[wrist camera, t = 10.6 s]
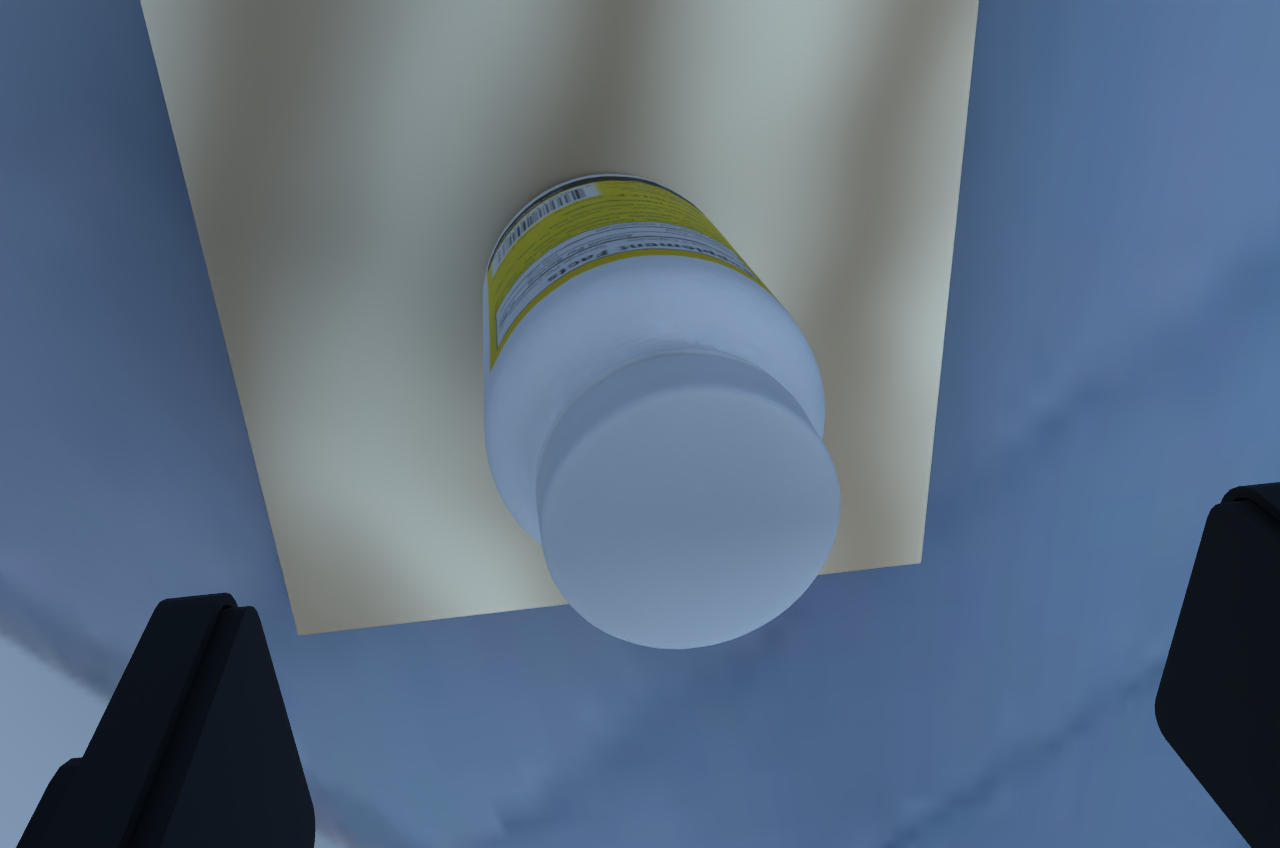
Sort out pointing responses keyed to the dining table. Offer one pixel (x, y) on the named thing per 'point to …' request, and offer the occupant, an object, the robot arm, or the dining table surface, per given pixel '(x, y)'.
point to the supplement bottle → (653, 416)
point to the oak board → (491, 197)
